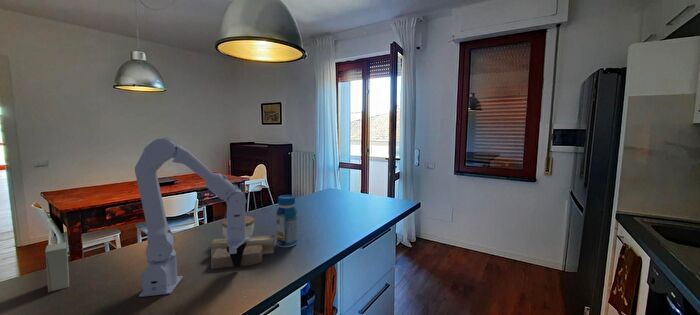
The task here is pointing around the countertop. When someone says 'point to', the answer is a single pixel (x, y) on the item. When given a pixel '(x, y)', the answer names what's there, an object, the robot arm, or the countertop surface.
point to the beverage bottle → (286, 221)
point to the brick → (250, 256)
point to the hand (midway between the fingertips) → (237, 265)
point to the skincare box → (57, 266)
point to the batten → (264, 240)
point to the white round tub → (249, 226)
